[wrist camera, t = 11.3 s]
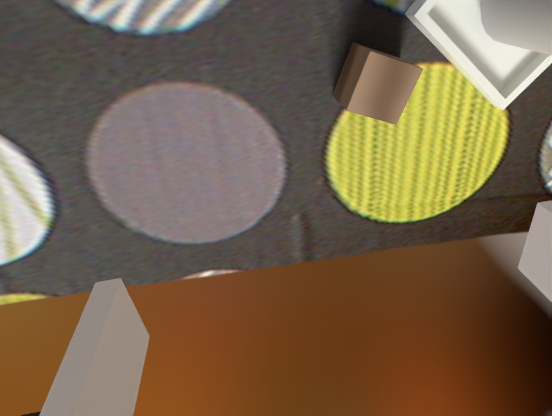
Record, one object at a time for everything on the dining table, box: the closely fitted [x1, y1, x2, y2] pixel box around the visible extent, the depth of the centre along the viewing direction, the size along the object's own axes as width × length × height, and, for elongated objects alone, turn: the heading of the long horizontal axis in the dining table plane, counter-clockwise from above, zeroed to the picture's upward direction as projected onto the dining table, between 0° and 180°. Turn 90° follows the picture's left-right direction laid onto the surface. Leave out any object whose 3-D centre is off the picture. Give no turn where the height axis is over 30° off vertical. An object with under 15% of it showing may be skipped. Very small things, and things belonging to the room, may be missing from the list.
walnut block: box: [333, 42, 423, 125], centre depth 33 cm, size 5×5×5 cm
